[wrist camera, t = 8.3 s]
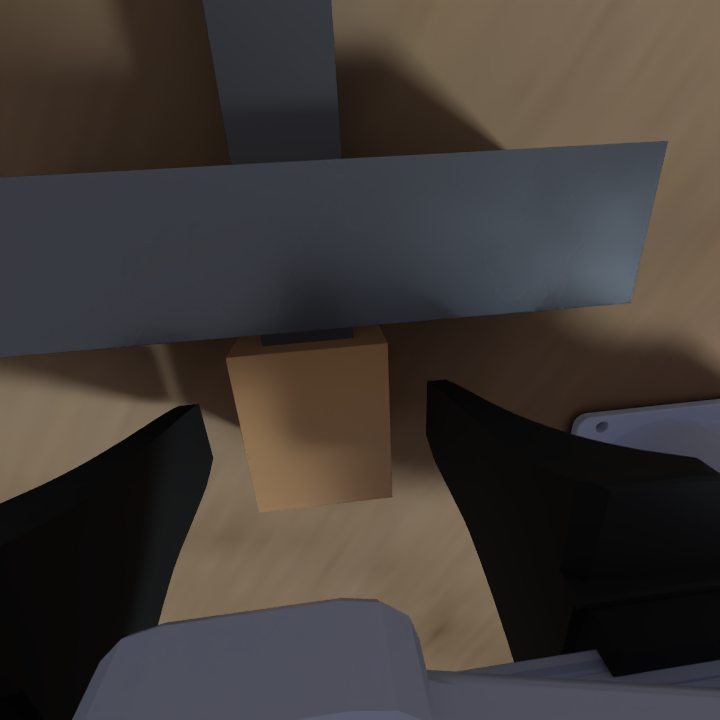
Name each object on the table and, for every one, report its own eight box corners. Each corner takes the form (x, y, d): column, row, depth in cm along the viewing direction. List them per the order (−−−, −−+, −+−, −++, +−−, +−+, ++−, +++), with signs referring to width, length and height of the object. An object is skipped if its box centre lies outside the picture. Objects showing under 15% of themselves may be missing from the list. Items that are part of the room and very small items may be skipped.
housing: (526, 167, 11) (668, 140, 7) (515, 266, 12) (630, 302, 8) (45, 195, 10) (-178, 186, 6) (82, 300, 11) (-76, 363, 7)
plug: (174, -108, 8) (78, -315, 5) (349, -109, 9) (368, -305, 5) (273, 441, 14) (259, 513, 11) (375, 430, 14) (392, 497, 11)
